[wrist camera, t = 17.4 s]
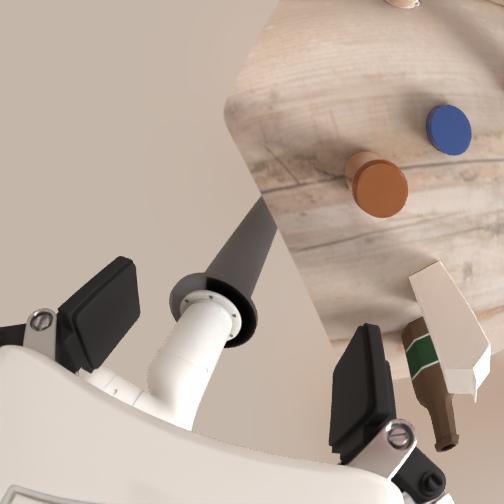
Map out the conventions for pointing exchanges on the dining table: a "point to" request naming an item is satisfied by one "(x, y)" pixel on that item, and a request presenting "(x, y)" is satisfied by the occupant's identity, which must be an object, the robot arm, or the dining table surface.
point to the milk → (452, 330)
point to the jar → (376, 184)
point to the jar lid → (449, 130)
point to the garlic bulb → (404, 3)
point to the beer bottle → (430, 383)
